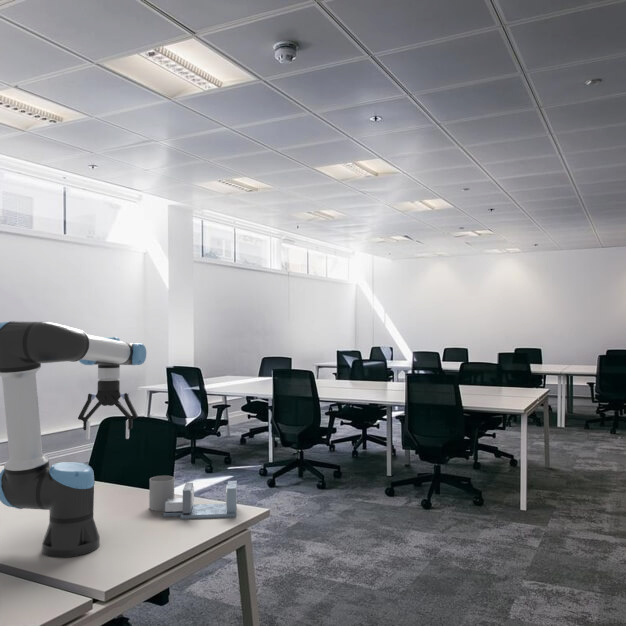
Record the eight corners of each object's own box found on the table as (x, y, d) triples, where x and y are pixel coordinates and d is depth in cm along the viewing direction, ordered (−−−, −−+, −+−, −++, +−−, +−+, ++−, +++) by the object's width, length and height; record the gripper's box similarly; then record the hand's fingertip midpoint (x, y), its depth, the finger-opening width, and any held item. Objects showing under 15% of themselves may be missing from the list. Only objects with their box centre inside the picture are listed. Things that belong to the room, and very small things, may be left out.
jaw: (191, 513, 195) (191, 490, 195) (164, 514, 194) (164, 491, 194) (194, 504, 205) (194, 482, 205) (168, 505, 204) (168, 483, 204)
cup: (177, 504, 210) (177, 476, 210) (169, 511, 202) (169, 481, 202) (154, 503, 211) (154, 475, 211) (145, 510, 203) (145, 481, 203)
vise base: (235, 517, 195) (236, 489, 196) (161, 519, 193) (162, 491, 193) (236, 506, 207) (236, 480, 208) (166, 508, 205) (167, 482, 205)
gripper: (145, 378, 218) (144, 436, 218) (74, 379, 215) (74, 437, 214) (143, 380, 211) (142, 439, 210) (69, 380, 207) (68, 441, 206)
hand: (107, 438), depth 212 cm, fingers open, 13 cm apart
